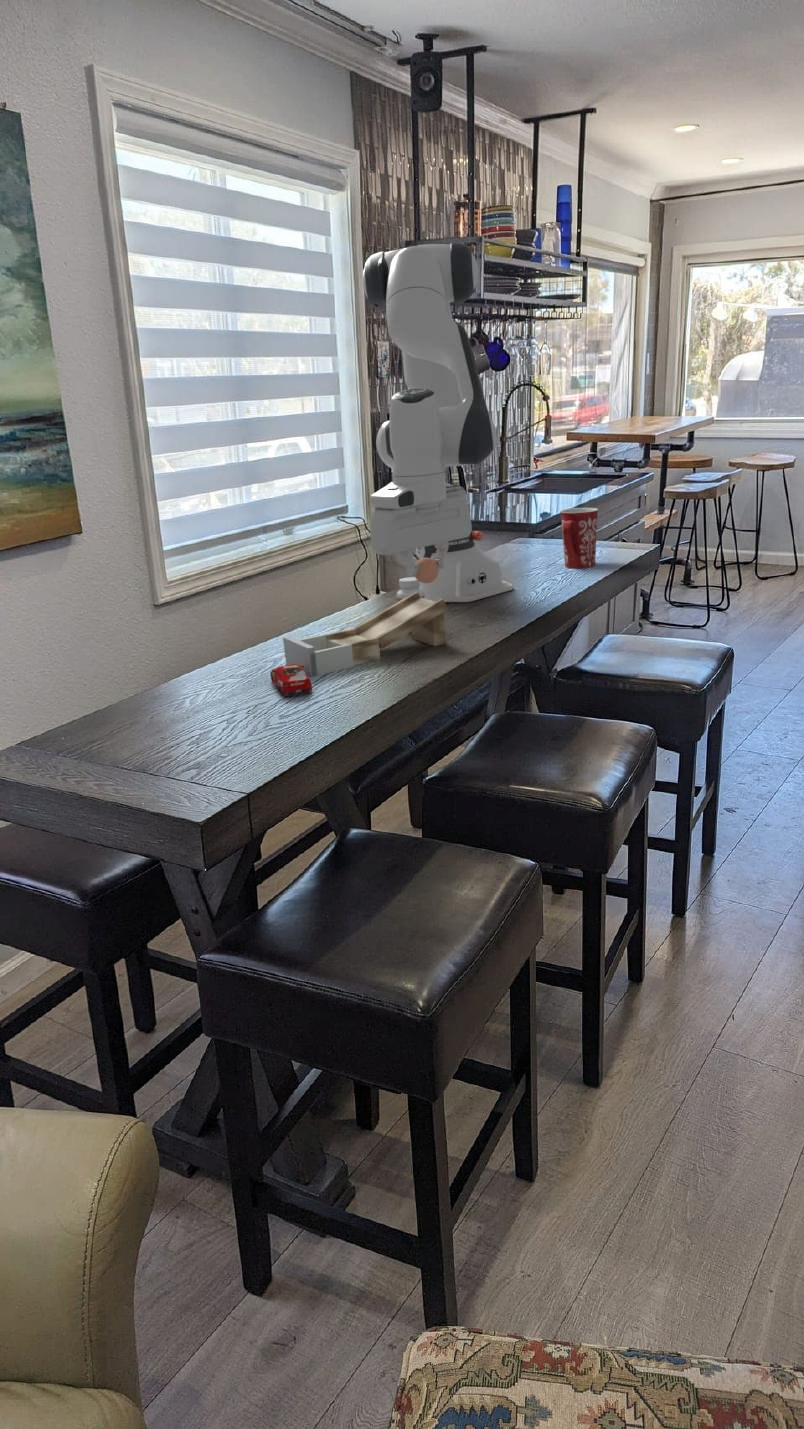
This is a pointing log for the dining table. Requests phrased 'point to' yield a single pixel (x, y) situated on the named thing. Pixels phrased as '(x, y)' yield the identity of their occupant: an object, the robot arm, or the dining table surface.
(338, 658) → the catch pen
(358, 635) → the ramp
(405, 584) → the supplement bottle
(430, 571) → the ball
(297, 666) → the race car
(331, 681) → the dining table surface
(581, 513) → the mug
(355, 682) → the dining table surface
